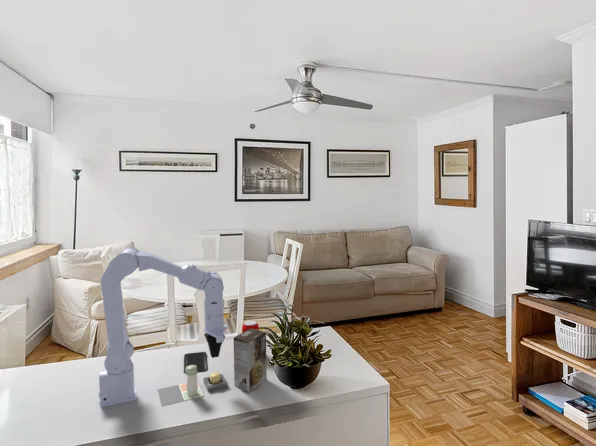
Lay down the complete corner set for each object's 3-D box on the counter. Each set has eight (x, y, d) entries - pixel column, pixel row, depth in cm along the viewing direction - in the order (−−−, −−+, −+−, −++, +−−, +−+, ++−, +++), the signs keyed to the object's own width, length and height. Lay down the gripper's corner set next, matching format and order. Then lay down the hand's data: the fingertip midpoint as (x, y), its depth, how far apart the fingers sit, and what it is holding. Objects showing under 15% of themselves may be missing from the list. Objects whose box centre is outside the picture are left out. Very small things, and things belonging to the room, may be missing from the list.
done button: (211, 386, 118) (211, 378, 118) (208, 381, 121) (208, 373, 121) (221, 383, 120) (221, 376, 119) (219, 379, 123) (218, 371, 122)
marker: (188, 397, 113) (186, 370, 112) (185, 392, 116) (184, 366, 115) (199, 394, 114) (197, 368, 114) (196, 390, 117) (195, 364, 116)
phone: (206, 351, 144) (207, 370, 129) (206, 354, 144) (207, 373, 129) (184, 353, 142) (183, 373, 127) (184, 356, 142) (183, 376, 127)
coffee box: (251, 374, 128) (250, 327, 126) (267, 379, 125) (267, 331, 123) (233, 387, 120) (232, 337, 119) (249, 392, 117) (249, 341, 115)
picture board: (161, 408, 109) (161, 406, 109) (157, 390, 118) (157, 389, 118) (204, 397, 114) (204, 395, 114) (197, 382, 123) (197, 380, 123)
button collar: (208, 393, 117) (207, 387, 116) (203, 383, 122) (203, 377, 122) (227, 388, 119) (227, 382, 119) (222, 379, 125) (222, 373, 124)
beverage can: (238, 354, 143) (238, 322, 142) (251, 348, 148) (250, 318, 146) (250, 359, 139) (249, 327, 138) (262, 353, 144) (262, 322, 143)
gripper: (233, 319, 113) (234, 363, 115) (220, 305, 126) (221, 345, 128) (209, 323, 110) (210, 368, 112) (198, 308, 123) (199, 349, 125)
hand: (214, 356), depth 120 cm, fingers closed
